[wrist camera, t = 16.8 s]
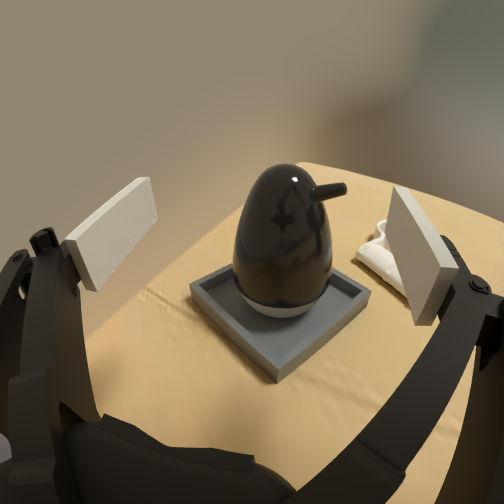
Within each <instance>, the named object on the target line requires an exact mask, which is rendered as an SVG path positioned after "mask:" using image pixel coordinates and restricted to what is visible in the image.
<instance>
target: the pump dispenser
mask: <svg viewBox="0 0 504 504" xmlns="http://www.w3.org/2000/svg"><path fill="white" fill-rule="evenodd" d="M346 193H347V187H346V184H345V183H334V184H326V185H318V186H317V185H316V184H315V182H314V181H313V179H312V177H311V176H310V175H309V174H308V173H307V172H306V171H305V170H304V169H302V168H300V167H298V166H296V165H292V164H279V165H274V166H272V167H270V168H268V169H266V170H265V171H264V172H263V173H262V174H261V175H260V176H259V177H258V179H257V180H256V182H255V184H254V185H253V187H252V189H251V191H250V193H249V195H248V197H247V200H246V202H245V205H244V208H243V210H242V213H241V217H240V220H239V223H238V227H237V232H236V237H235V243H234V252H233V279H234V283H235V285H236V287H237V289H238V290H239V291H240V293H241V294H242V296H243V298H244V299H245V301H246V302H247V303H248V304H249V305H250V306H251V307H252V308H253V309H255V310H256V311H258V312H260V313H262V314H264V315H267V316H270V317H276V318H288V317H294V316H297V315H300V314H302V313H304V312H306V311H307V310H309V309H310V308H312V307H313V306H314V305H315V304H316V303H317V301H318V300H319V299H320V297H321V296H322V295H323V294H324V293H325V292H326V290H327V289H328V287H329V284H330V280H331V275H332V237H331V230H330V224H329V220H328V215H327V212H326V208H325V205H324V202H323V201H325V200H328V199H332V198H336V197H339V196H343V195H346Z"/></svg>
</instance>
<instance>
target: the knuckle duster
mask: <svg viewBox="0 0 504 504" xmlns="http://www.w3.org/2000/svg"><path fill="white" fill-rule="evenodd" d="M386 223H387V220H382V221H380V222H378V223H377V225H376V229H375V233H374V237H373V240H372V241H370V242H367V243H365V244H364V245H362V246H361V247H360V248H359V249H358V250H357V252H356V255H355V256H356V258H357V259H358V260H359V261H361V262H363V263H364V264H365V265H367V266H368V267H369V268H370V269H372V270H373V271H374V272H375V273H377V274H378V275H379V276H380V277H382V278H383V280H384V281H386V282H388V283H389V284H390V285H392V286H393V287H394V288H395V289H397V290H398V291H399V292H400V293H401V294H403V295H404V296H405V297H406V293H405V290H404V287H403V284H402V281H401V278H400V275H399V272H398V269H397V266H396V263H395V260H394V257H393V254H392V252H391V249H390V246H389V244H388V241H387V238H386V236H385V233H384V232H385V227H386ZM406 298H407V297H406Z"/></svg>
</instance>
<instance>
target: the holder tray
mask: <svg viewBox="0 0 504 504" xmlns="http://www.w3.org/2000/svg"><path fill="white" fill-rule="evenodd" d="M189 286H190V291H191V295H192V300H193V301H194V302H195V303H196V304H197V305H198V306H199V307H200V308H201V309H202V311H203V312H204V313H205V314H206V315H207V316H208V317H209V318H210V319H211V320H212V321H213V322H214V323H215V324H216V325H217V326H218V327H219V328H220V329H221V330H222V331H223V332H224V333H225V334H226V335H227V336H228V337H229V338H230V339H231V340H232V341H233V342H234V343H235V344H236V345H237V346H238V347H239V348H240V349H241V350H242V351H243V352H244V353H245V354H246V355H247V356H248V357H249V358H250V359H251V360H252V361H253V362H254V363H255V364H256V365H257V366H258V367H259V368H261V369H262V370H263V371H264V372H265V373H266V374H267V375H268V376H269V377H270V378H271V379H272V380H273V381H275V382H276V383H278V382H280V381H281V380H282V379H284V378H285V377H286V376H287V375H289V374H290V373H291V372H293V371H294V370H295V369H296V368H298V367H299V366H300V365H301V364H303V363H304V362H305V361H306V360H307V359H309V358H310V357H311V356H312V355H313V354H315V353H316V352H317V351H318V350H319V349H320V348H322V347H323V346H324V345H325V344H326V343H327V342H329V341H330V340H331V339H332V338H333V337H334V336H335V335H336V334H338V333H339V332H340V331H341V330H342V329H343V328H344V327H345V326H346V325H347V324H348V323H350V322H351V321H352V320H353V319H354V318H355V317H356V316H357V315H358V314H359V313H360V312H361V311H362V310H363V309H364V308H365V307H366V306H367V303H368V300H369V297H370V294H371V290H369V289H368V288H366V287H364V286H363V285H361V284H359V283H358V282H356V281H354V280H353V279H351V278H349V277H348V276H346V275H344V274H343V273H341V272H339V271H337V270H336V269H334V268H332V275H331V280H330V284H329V287H328V289H327V290H326V292H325V293H324V294H323V295H322V296H321V297H320V299H319V300H318V301H317V303H316V304H315V305H314V306H313V307H312V308H310V309H309V310H307V311H306V312H304V313H302V314H300V315H297V316H294V317H288V318H276V317H270V316H267V315H264V314H262V313H260V312H258V311H256V310H255V309H253V308H252V307H251V306H250V305H249V304H248V303H247V302H246V301H245V299H244V298H243V296H242V294H241V293H240V291H239V290H238V289H237V287H236V285H235V283H234V279H233V263H231V264H229V265H227V266H225V267H223V268H221V269H219V270H217V271H215V272H213V273H211V274H209V275H207V276H205V277H203V278H200V279H198V280H196V281H194V282H192V283H190V284H189Z"/></svg>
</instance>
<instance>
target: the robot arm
mask: <svg viewBox="0 0 504 504" xmlns="http://www.w3.org/2000/svg"><path fill="white" fill-rule="evenodd" d="M157 220H158V217H157V212H156V208H155V202H154V198H153V193H152V188H151V182H150V177H138V178H137V179H136V180H134V181H133V182H132V183H130V184H129V185H128V186H126V187H125V188H124V189H122V190H121V191H120V192H119V193H117V194H116V195H115V196H113V197H112V198H111V199H110V200H109V201H107V202H106V203H105V204H104V205H102V206H101V207H100V208H99V209H98V210H96V211H95V212H94V213H93V214H92V215H90V216H89V217H88V218H87V219H86V220H85V221H84V222H82V223H81V224H80V225H79V226H78V227H77V228H76V229H74V230H73V231H72V232H71V233H70V234H69V235H68V236H67V237H66V238H65V239H64V241H63V242H62V243H61V244H60V245H59V243H58V240H57V238H56V235H55V233H54V230H53V228H51V227H49V228H44V229H42V230H40V231H38V232H37V233H35V234H34V235H33V236H32V237H31V238H30V240H29V241H30V243H31V245H32V248H33V250H34V252H35V254H36V257H32V258H31V257H30V255H29V253H28V251H27V250H26V249H22V250H20V251H19V250H18V251H16V252H15V253H14V254H13V255H12V256H11V257H10V258H9V260H8V261H7V263H6V265H5V266H4V268H3V269H2V271H1V273H0V504H385V503H386V502H387V501H388V500H389V499H390V497H391V496H392V495H393V494H394V493H395V492H396V490H397V489H398V488H399V486H400V485H401V484H402V482H403V480H404V478H405V476H406V473H405V471H406V469H407V467H408V465H409V464H410V462H411V461H412V460H413V458H414V457H415V456H416V454H417V453H418V451H419V450H420V448H421V447H422V445H423V444H424V442H425V441H426V439H427V438H428V436H429V435H430V433H431V432H432V430H433V428H434V427H435V425H436V423H437V422H438V420H439V418H440V417H441V415H442V413H443V411H444V410H445V408H446V406H447V404H448V402H449V401H450V399H451V397H452V395H453V393H454V391H455V389H456V387H457V385H458V383H459V381H460V379H461V376H462V374H463V372H464V370H465V368H466V365H467V363H468V361H469V358H470V356H471V354H472V351H473V349H474V346H475V345H476V354H475V363H474V370H473V377H472V383H471V389H470V394H469V399H468V404H467V409H466V413H465V417H464V421H463V425H462V429H461V433H460V436H459V440H458V443H457V446H456V450H455V453H454V456H453V459H452V462H451V464H450V467H449V470H448V473H447V475H446V478H445V480H444V483H443V485H442V488H441V490H440V492H439V495H438V497H437V499H436V501H435V503H434V504H504V297H501V296H498V295H495V294H492V292H491V288H490V286H489V285H488V283H487V282H486V281H485V280H484V279H482V278H481V277H479V276H477V275H473V274H471V273H470V271H469V269H468V267H467V266H466V264H465V262H464V261H463V259H462V257H461V256H460V254H459V252H458V251H457V249H456V248H455V246H454V244H453V243H452V242H451V241H450V240H449V239H448V238H447V237H445V236H443V235H439V233H438V232H437V230H436V229H435V227H434V226H433V224H432V223H431V221H430V220H429V218H428V217H427V215H426V214H425V212H424V211H423V209H422V208H421V207H420V205H419V204H418V202H417V201H416V200H415V198H414V197H413V195H412V194H411V193H410V191H409V190H408V189H407V188H405V187H397V186H393V192H392V197H391V203H390V208H389V213H388V218H387V223H386V227H385V232H384V233H385V236H386V238H387V241H388V244H389V246H390V249H391V252H392V254H393V257H394V260H395V263H396V266H397V269H398V272H399V275H400V278H401V281H402V284H403V287H404V290H405V293H406V297H407V300H408V303H409V307H410V310H411V314H412V318H413V321H414V325H415V326H431V325H432V323H433V322H434V320H435V318H436V316H437V314H438V317H439V320H440V323H439V325H438V327H437V329H436V330H435V332H434V334H433V335H432V337H431V339H430V340H429V342H428V344H427V345H426V347H425V348H424V350H423V352H422V353H421V355H420V356H419V358H418V359H417V361H416V362H415V364H414V365H413V367H412V368H411V369H410V371H409V372H408V374H407V375H406V377H405V378H404V379H403V381H402V382H401V383H400V385H399V386H398V388H397V389H396V390H395V391H394V393H393V394H392V395H391V397H390V398H389V399H388V400H387V402H386V403H385V404H384V405H383V407H382V408H381V409H380V410H379V412H378V413H377V414H376V415H375V416H374V417H373V419H372V420H371V421H370V422H369V423H368V424H367V426H366V427H365V428H364V429H363V430H362V431H361V432H360V433H359V434H358V435H357V436H356V437H355V439H354V440H353V441H352V442H351V443H350V444H349V445H348V446H347V447H346V448H345V449H344V450H343V451H342V452H341V453H340V454H339V455H338V456H337V457H336V458H335V459H334V460H333V461H332V462H330V463H329V464H328V465H327V466H326V467H325V468H324V469H323V470H322V471H321V472H320V473H318V474H317V475H316V476H315V477H314V478H313V479H312V480H310V481H309V482H308V483H307V484H306V485H304V486H303V487H302V488H301V489H300V490H298V491H296V490H295V489H294V488H293V487H292V485H291V484H290V483H289V482H288V481H286V480H285V479H284V478H283V477H282V476H280V475H279V474H277V473H276V472H274V471H273V470H271V469H269V468H267V467H265V466H263V465H260V464H258V463H255V459H254V455H247V454H241V453H235V452H230V451H224V450H219V449H215V448H182V447H169V446H166V445H164V444H162V443H160V442H159V441H157V440H156V439H154V438H153V437H151V436H149V435H148V434H146V433H145V432H143V431H142V430H140V429H139V428H137V427H136V426H135V425H132V424H129V423H127V422H124V421H121V420H119V419H116V418H114V417H112V416H109V415H107V414H104V415H103V417H102V419H101V417H100V415H99V414H98V411H97V409H96V405H95V401H94V396H93V391H92V386H91V381H90V376H89V370H88V364H87V357H86V350H85V343H84V335H83V325H82V314H81V301H80V290H79V287H78V285H77V284H78V283H79V281H80V280H82V283H83V285H84V287H85V289H86V290H90V291H94V292H98V291H99V290H100V288H101V287H102V285H103V284H104V283H105V282H106V281H107V279H108V278H109V277H110V275H111V274H112V273H113V272H114V270H115V269H116V268H117V267H118V265H119V264H120V263H121V262H122V261H123V259H124V258H125V257H126V256H127V254H128V253H129V252H130V251H131V250H132V248H133V247H134V246H135V245H136V244H137V242H138V241H139V240H140V239H141V238H142V236H144V234H145V233H146V232H147V231H148V230H149V229H150V227H151V226H152V225H153V224H154V223H155V222H156V221H157ZM19 286H20V288H21V290H22V292H23V293H24V295H25V297H24V299H22V298H21V296H20V294H19Z"/></svg>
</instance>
